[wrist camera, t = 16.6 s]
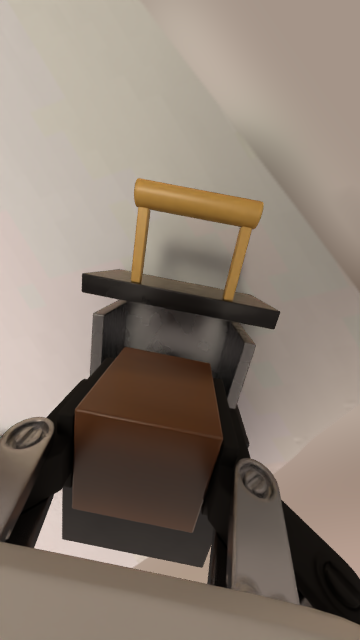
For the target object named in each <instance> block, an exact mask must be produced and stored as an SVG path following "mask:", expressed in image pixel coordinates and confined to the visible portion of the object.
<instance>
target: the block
mask: <svg viewBox="0 0 360 640" xmlns="http://www.w3.org/2000/svg"><path fill="white" fill-rule="evenodd" d="M222 441H223V435H222V429H221V423H220V417H219V411H218V406H217V400H216V394H215V388H214V382H213V376H212V371H211V365H210V363H206V362H201V361H196V360H191V359H186V358H180V357H175V356H170V355H165V354H160V353H155V352H150V351H145V350H140V349H135V348H130V347H124V349H123V350H122V351H121V352H120V354H119V355H118V356H117V357H116V359H115V360H114V361H113V362H112V364H111V365H110V366H109V367H108V369H107V370H106V371H105V372H104V374H103V375H102V376H101V377H100V379H99V380H98V381H97V382H96V384H95V385H94V386H93V387H92V389H91V390H90V391H89V392H88V394H87V395H86V396H85V397H84V399H83V400H82V401H81V402H80V404H79V405H78V406H77V407H76V409H75V420H74V455H73V490H72V508H73V509H77V510H82V511H87V512H92V513H97V514H102V515H107V516H112V517H116V518H121V519H126V520H131V521H136V522H141V523H146V524H151V525H156V526H161V527H166V528H171V529H176V530H181V531H185V532H190V533H192V532H193V531H194V528H195V525H196V522H197V519H198V515H199V512H200V509H201V506H202V503H203V500H204V497H205V494H206V491H207V488H208V485H209V481H210V478H211V475H212V472H213V469H214V466H215V463H216V460H217V457H218V454H219V451H220V447H221V444H222Z"/></svg>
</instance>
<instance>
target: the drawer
mask: <svg viewBox="0 0 360 640" xmlns="http://www.w3.org/2000/svg"><path fill="white" fill-rule="evenodd" d="M134 200H135V204H136V206H137V207H139V208H138V217H137V226H136V235H135V245H134V254H133V264H132V272H131V271H125V270H120V269H118V270H109V271H100V272H91V273H83V274H82V292H84V293H89V294H94V295H99V296H104V297H110V298H115V299H120V300H118V301H116V302H114V303H112V304H110V305H108V306H107V307H105V308H103V309H101V310H99V311H97V312H95V313H94V314H93V327H92V346H91V365H90V376H91V375H92V374H93V373H94V371H95V370H96V369H97V368H98V367H99V366H100V365H101V364H102V363H103V361H104V360H105V359H106V358H107V357H110V358H115V359H116V357H117V356H118V355H119V354H120V352H121V351H122V350H123V349H124V347H130V348H135V349H140V350H145V351H150V352H155V353H160V354H165V355H170V356H175V357H180V358H186V359H191V360H196V361H201V362H206V363H210V365H211V371H212V376H213V378H216V379H221V380H223V384H224V388H225V392H226V396H227V400H228V404H229V408H233V409H235V408H236V405H237V402H238V399H239V395H240V392H241V389H242V386H243V383H244V380H245V377H246V374H247V371H248V368H249V365H250V362H251V359H252V356H253V353H254V350H255V347H256V345H255V343H254V342H253V341H252V339H251V338H250V337H249V335H248V334H247V333H246V331H245V330H244V329H243V327H242V326H241V325H240V323H243V324H248V325H253V326H259V327H264V328H269V329H275V326H276V323H277V320H278V317H279V315H280V311H278V310H276V309H275V308H273V307H271V306H269V305H268V304H266V303H264V302H262V301H261V300H259V299H257V298H256V297H254V296H252V295H249V294H244V293H239V292H235V290H236V287H237V283H238V279H239V275H240V272H241V268H242V264H243V261H244V257H245V253H246V249H247V246H248V242H249V238H250V235H251V231H252V229H255V228H256V226H257V225H258V223H259V221H260V218H261V215H262V211H263V202H261V201H256V200H251V199H245V198H240V197H235V196H230V195H224V194H219V193H214V192H208V191H203V190H198V189H193V188H187V187H182V186H177V185H172V184H166V183H161V182H156V181H151V180H145V179H140V178H138V179H137V180H136V183H135V189H134ZM149 209H150V210H155V211H160V212H166V213H171V214H176V215H181V216H187V217H192V218H197V219H202V220H208V221H213V222H218V223H223V224H228V225H234V226H239V227H241V228H240V230H239V234H238V238H237V242H236V246H235V249H234V253H233V257H232V261H231V265H230V269H229V273H228V277H227V281H226V285H225V289H218V288H213V287H208V286H203V285H198V284H193V283H187V282H182V281H177V280H172V279H167V278H162V277H156V276H151V275H146V274H143V267H144V259H145V251H146V243H147V235H148V227H149V219H150V210H149Z"/></svg>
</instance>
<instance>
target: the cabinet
mask: <svg viewBox="0 0 360 640" xmlns="http://www.w3.org/2000/svg"><path fill="white" fill-rule="evenodd" d="M235 409H236V411H237V414H238V417H239V421H240V424H241V427H242V431H243V434H244V438H245V441H246V445H247V448H248V447H249V441H248V438H247V435H246V431H245V428H244V425H243V422H242V418H241V415H240V412H239V409H238V405H236V408H235ZM72 490H73V485H72V487H71V488H69V487H64V486H63V501H62V539H64V540H69V541H74V542H79V543H84V544H89V545H94V546H99V547H103V548H108V549H113V550H118V551H123V552H128V553H133V554H138V555H143V556H147V557H152V558H157V559H163V560H167V561H172V562H177V563H182V564H187V565H191V566H196V567H203V565H204V562H205V560H206V557H207V554H208V552H209V549H210V547H211V544H212V535H213V526H212V525H211V523H210V522H209V521H208V516H207V515H202V512H201V509H200V512H199V515H198V519H197V522H196V525H195V528H194V531H193V532H192V533H190V532H185V531H181V530H176V529H171V528H166V527H161V526H156V525H151V524H146V523H141V522H136V521H131V520H126V519H121V518H116V517H112V516H107V515H102V514H97V513H92V512H87V511H82V510H77V509H73V508H72Z"/></svg>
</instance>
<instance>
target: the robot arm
mask: <svg viewBox="0 0 360 640" xmlns="http://www.w3.org/2000/svg"><path fill="white" fill-rule="evenodd" d="M114 360H115V358H110V357H107V358H106V359H105V360H104V361H103V363H102V364H101V365H100V366H99V367H98V368H97V369H96V370H95V371H94V373H93V374H92V375H91V376H90V377H89V378H88V379H83V380H82V381H80V382H79V383H78V385H77V386H76V387H75V388H74V389H73V390H72V391H71V392H70V393H69V394H68V395H67V396H66V397H65V398H64V399H63V401H62V402H61V403H60V404H59V405H58V406H57V407H56V408H55V409H54V410H53V411H52V412H51V413H50V414H49V415H48V417H47V418H45V417H33V418H29V419H25V420H23V421H21V422H19V423H17V424H15V425H14V426H12V427H11V428H9V429H8V430H7V431H6V432H5V433H4V435H3V436H2V437H1V438H0V640H360V579H359V577H358V576H357V574H356V573H355V572H354V571H353V570H352V568H351V567H350V566H349V565H348V564H347V563H346V562H345V561H344V560H343V559H342V558H341V557H340V556H339V555H338V554H337V553H336V552H335V551H334V550H333V549H332V548H331V547H330V546H329V545H328V544H327V543H326V542H325V541H324V540H322V538H320V537H319V536H318V535H317V534H316V533H315V532H314V531H313V530H312V529H311V528H310V527H309V526H308V525H307V524H306V523H305V522H304V521H303V520H302V519H300V517H299V516H298V515H296V513H295V512H294V511H292V510H291V509H290V508H289V507H288V506H287V505H286V504H285V503H284V502H283V501H282V500H281V497H280V492H279V487H278V484H277V481H276V479H275V478H274V476H273V474H272V473H271V472H270V471H269V470H268V468H266V467H265V466H264V465H263V464H262V463H260V462H258V461H256V460H254V459H251V458H250V455H249V451H248V448H247V445H246V441H245V438H244V434H243V431H242V427H241V424H240V421H239V417H238V414H237V411H236V409H233V408H229V404H228V400H227V396H226V392H225V388H224V384H223V380H221V379H216V378H213V382H214V388H215V394H216V400H217V406H218V411H219V417H220V423H221V429H222V435H223V441H222V444H221V447H220V451H219V454H218V457H217V460H216V463H215V466H214V469H213V472H212V475H211V478H210V481H209V485H208V488H207V491H206V494H205V497H204V500H203V503H202V506H201V512H202V515H207V516H208V521H209V522H210V523H211V525H212V526H213V535H212V546H211V554H210V564H209V573H208V583H207V584H204V583H199V582H195V581H190V580H186V579H181V578H176V577H171V576H166V575H161V574H157V573H152V572H147V571H142V570H137V569H133V568H128V567H123V566H118V565H113V564H108V563H104V562H99V561H94V560H89V559H84V558H79V557H74V556H69V555H64V554H59V553H55V552H50V551H44V550H39V549H34V546H35V544H36V541H37V538H38V536H39V533H40V530H41V528H42V525H43V523H44V520H45V517H46V515H47V512H48V509H49V507H50V504H51V501H52V499H53V496H54V494H55V493H56V492H58V491H60V490H61V489H62V487H63V486H64V487H69V488H71V487H72V485H73V455H74V420H75V409H76V407H77V406H78V405H79V404H80V402H81V401H82V400H83V399H84V397H85V396H86V395H87V394H88V392H89V391H90V390H91V389H92V387H93V386H94V385H95V384H96V382H97V381H98V380H99V379H100V377H101V376H102V375H103V374H104V372H105V371H106V370H107V369H108V367H109V366H110V365H111V364H112V362H113V361H114Z"/></svg>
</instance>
